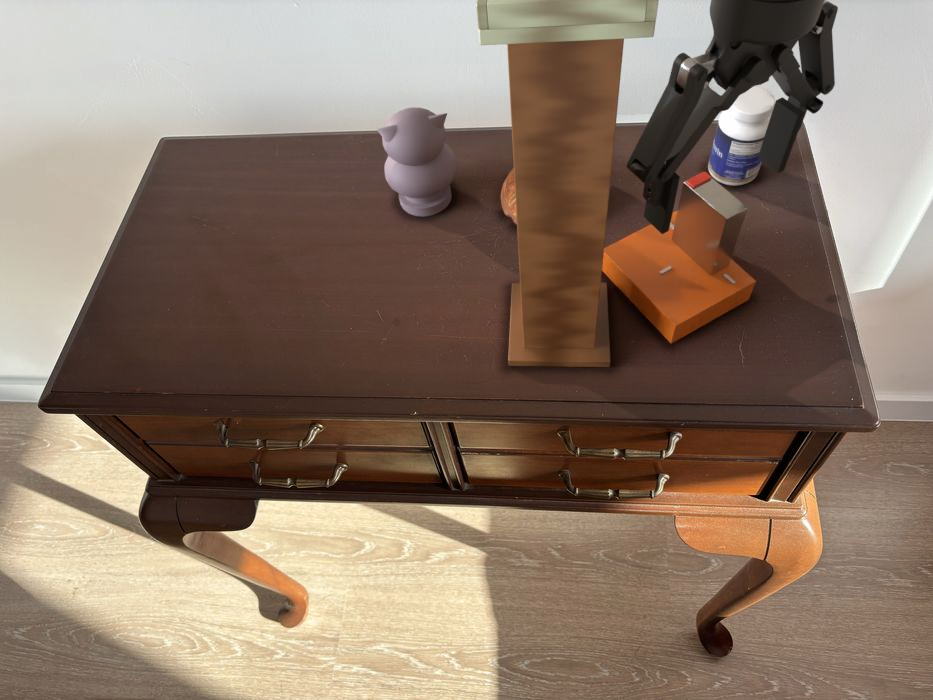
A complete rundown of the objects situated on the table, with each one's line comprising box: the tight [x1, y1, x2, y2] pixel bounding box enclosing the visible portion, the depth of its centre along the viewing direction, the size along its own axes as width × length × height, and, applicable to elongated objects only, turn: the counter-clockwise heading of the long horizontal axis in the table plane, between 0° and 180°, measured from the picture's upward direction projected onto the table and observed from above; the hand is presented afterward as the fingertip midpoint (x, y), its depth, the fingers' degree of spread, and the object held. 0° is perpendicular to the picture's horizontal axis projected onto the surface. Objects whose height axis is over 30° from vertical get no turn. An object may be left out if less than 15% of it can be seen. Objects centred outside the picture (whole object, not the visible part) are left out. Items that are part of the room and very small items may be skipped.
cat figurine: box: [376, 106, 458, 218], centre depth 80 cm, size 8×8×12 cm
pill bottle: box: [707, 85, 776, 187], centre depth 78 cm, size 6×6×10 cm
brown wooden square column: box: [475, 0, 659, 368], centre depth 56 cm, size 10×10×38 cm
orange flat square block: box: [602, 210, 757, 344], centre depth 72 cm, size 12×13×3 cm
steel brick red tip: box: [672, 171, 749, 275], centre depth 68 cm, size 6×2×8 cm, turn 30°
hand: (714, 193), depth 65 cm, fingers open, 13 cm apart
